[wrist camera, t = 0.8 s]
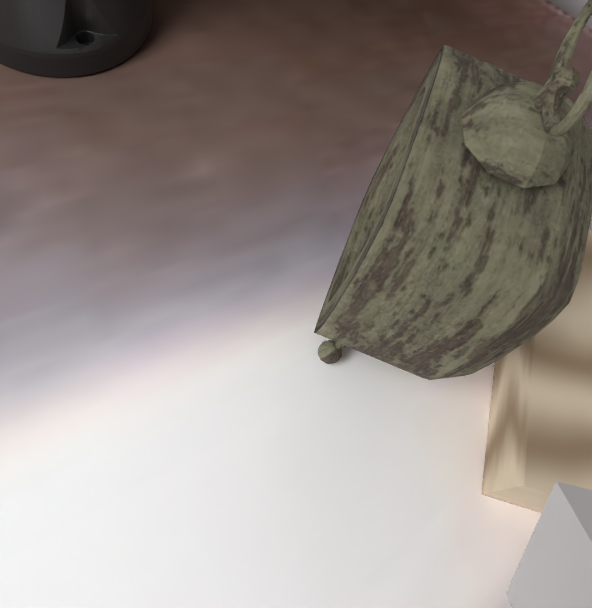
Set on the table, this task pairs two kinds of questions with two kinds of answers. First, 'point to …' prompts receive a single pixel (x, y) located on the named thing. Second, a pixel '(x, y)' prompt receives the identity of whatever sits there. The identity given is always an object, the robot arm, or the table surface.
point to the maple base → (544, 407)
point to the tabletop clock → (468, 220)
